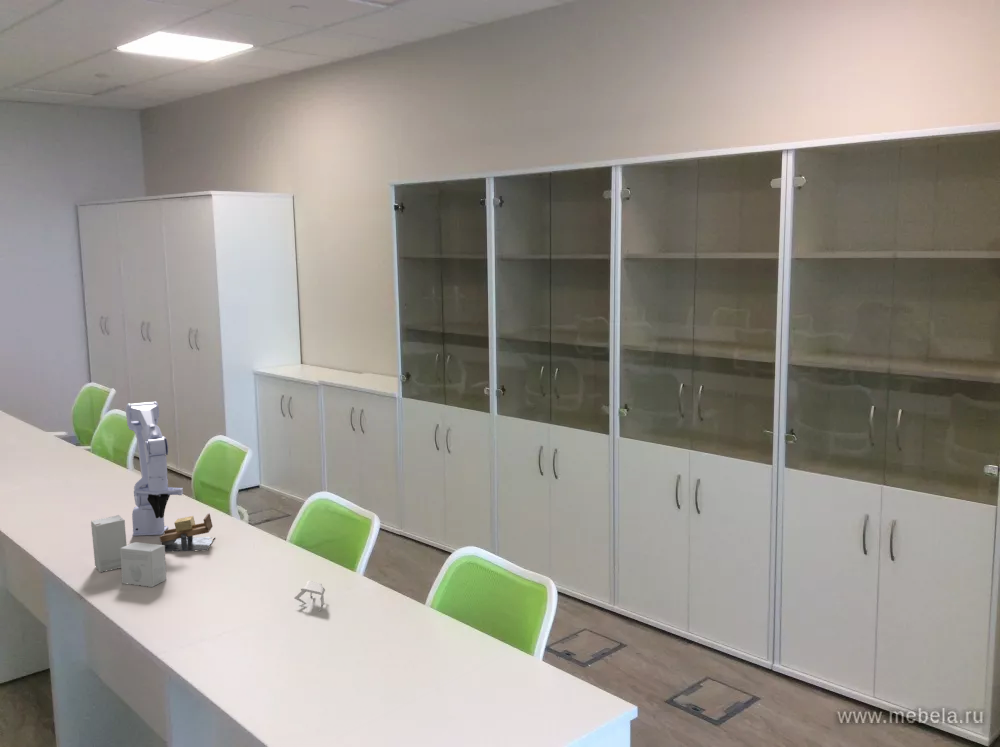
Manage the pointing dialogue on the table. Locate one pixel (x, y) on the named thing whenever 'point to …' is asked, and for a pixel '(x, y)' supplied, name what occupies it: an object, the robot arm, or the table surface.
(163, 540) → the balance beam
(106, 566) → the skincare box
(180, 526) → the block
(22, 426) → the table surface
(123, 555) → the skincare box
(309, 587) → the origami figure
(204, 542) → the pivot stand
